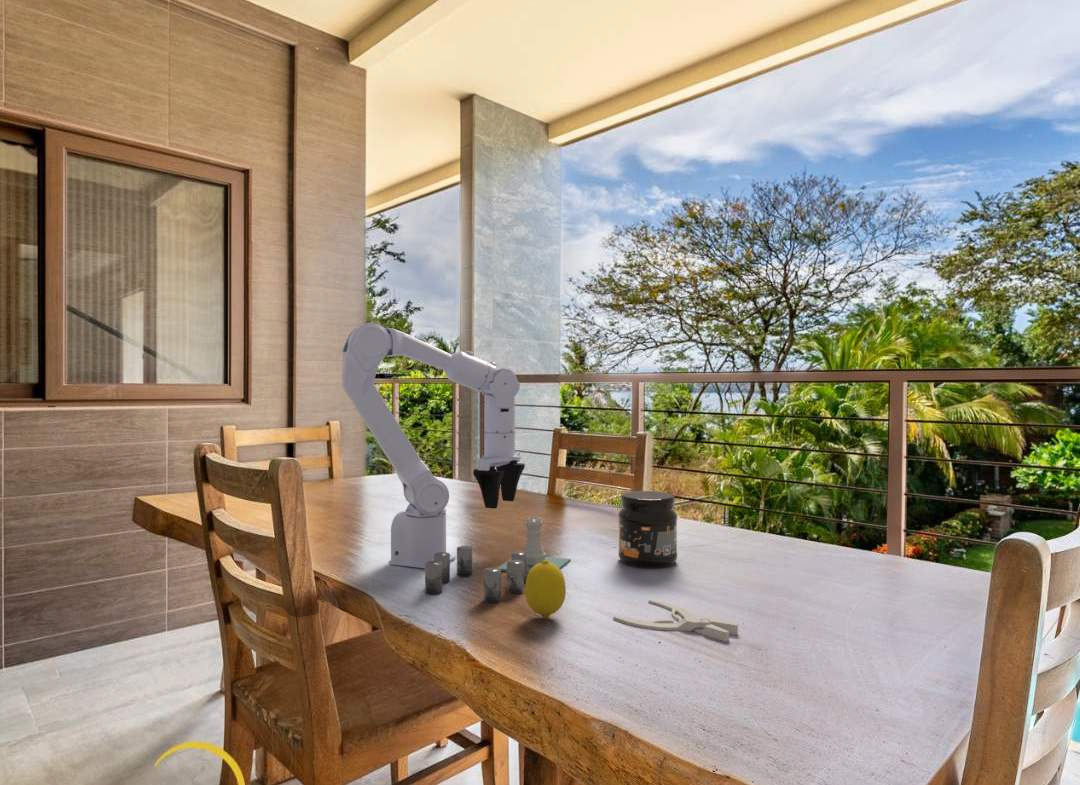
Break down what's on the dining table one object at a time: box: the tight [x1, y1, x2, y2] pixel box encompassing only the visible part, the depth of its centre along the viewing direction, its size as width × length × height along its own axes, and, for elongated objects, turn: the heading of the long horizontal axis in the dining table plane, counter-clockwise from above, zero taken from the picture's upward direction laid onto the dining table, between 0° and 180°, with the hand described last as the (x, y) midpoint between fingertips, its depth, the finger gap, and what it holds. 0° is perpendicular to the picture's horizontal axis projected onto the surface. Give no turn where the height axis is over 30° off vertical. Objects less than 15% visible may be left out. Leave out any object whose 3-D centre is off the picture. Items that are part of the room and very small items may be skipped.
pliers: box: [613, 598, 739, 642], centre depth 86 cm, size 10×2×15 cm
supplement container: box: [617, 490, 678, 569], centre depth 116 cm, size 10×10×12 cm
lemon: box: [524, 560, 567, 619], centre depth 88 cm, size 6×6×8 cm
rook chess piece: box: [523, 516, 547, 566], centre depth 113 cm, size 4×4×8 cm
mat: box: [497, 556, 571, 575], centre depth 113 cm, size 10×10×1 cm
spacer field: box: [424, 545, 528, 604], centre depth 102 cm, size 16×13×4 cm
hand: (500, 504), depth 121 cm, fingers open, 7 cm apart
